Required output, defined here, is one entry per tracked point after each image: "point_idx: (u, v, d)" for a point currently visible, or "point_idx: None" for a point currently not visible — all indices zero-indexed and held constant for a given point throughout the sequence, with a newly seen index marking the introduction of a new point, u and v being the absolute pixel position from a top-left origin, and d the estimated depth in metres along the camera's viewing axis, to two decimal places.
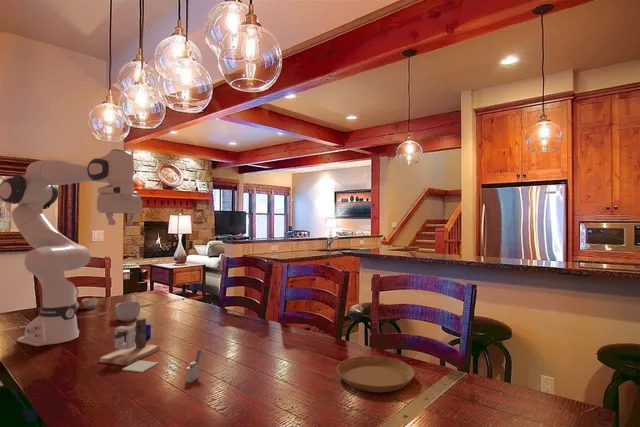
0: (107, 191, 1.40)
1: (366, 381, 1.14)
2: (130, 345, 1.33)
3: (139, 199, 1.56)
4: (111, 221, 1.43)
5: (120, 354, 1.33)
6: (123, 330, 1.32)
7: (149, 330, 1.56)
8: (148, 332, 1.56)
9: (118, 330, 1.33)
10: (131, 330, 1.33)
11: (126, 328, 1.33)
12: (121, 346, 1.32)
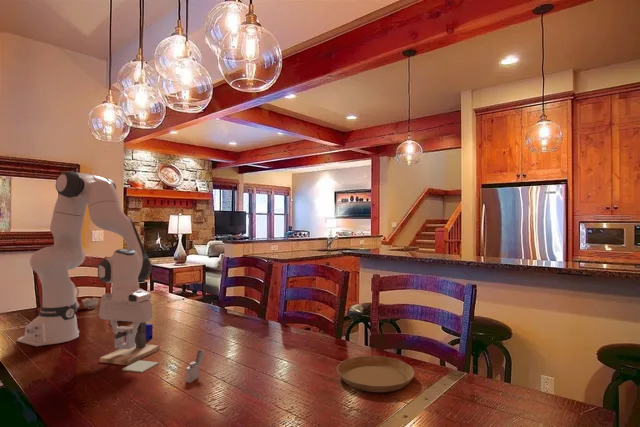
0: (148, 298, 1.34)
1: (366, 381, 1.14)
2: (130, 345, 1.33)
3: None
4: (136, 329, 1.33)
5: (120, 354, 1.33)
6: (123, 330, 1.32)
7: (151, 330, 1.56)
8: (150, 332, 1.55)
9: (118, 330, 1.33)
10: None
11: (126, 328, 1.33)
12: (121, 346, 1.32)
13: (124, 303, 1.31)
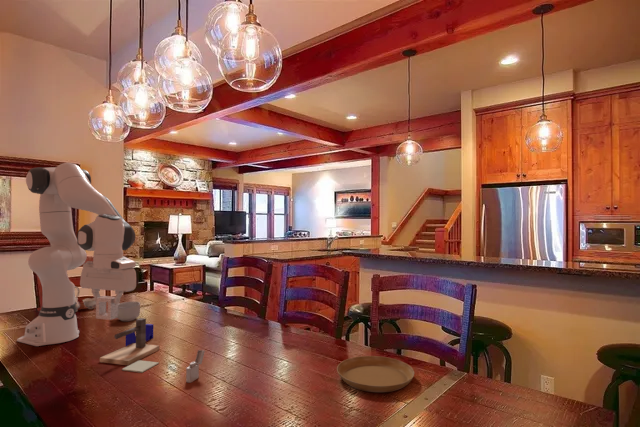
0: (132, 266, 1.26)
1: (366, 381, 1.14)
2: (112, 315, 1.25)
3: None
4: (119, 299, 1.26)
5: (120, 354, 1.33)
6: (105, 299, 1.25)
7: (151, 330, 1.56)
8: (150, 332, 1.55)
9: (100, 299, 1.25)
10: None
11: (108, 298, 1.26)
12: (103, 316, 1.25)
13: (106, 271, 1.24)
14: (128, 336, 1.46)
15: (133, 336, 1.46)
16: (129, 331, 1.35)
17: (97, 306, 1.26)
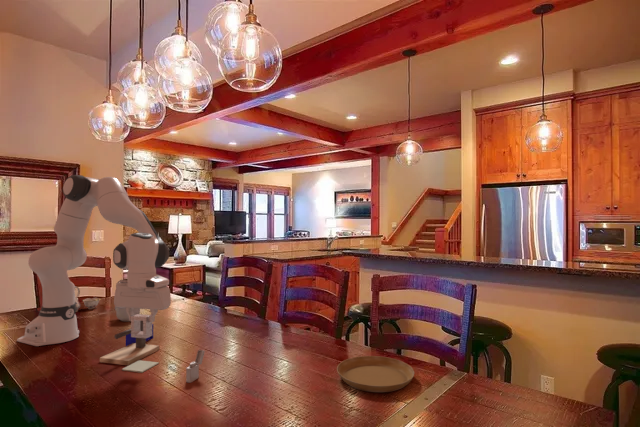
0: (166, 284, 1.26)
1: (366, 381, 1.14)
2: (148, 333, 1.25)
3: None
4: (153, 317, 1.26)
5: (120, 354, 1.33)
6: (140, 318, 1.25)
7: None
8: None
9: (134, 318, 1.25)
10: None
11: (143, 316, 1.26)
12: (138, 335, 1.25)
13: (141, 289, 1.24)
14: (128, 336, 1.46)
15: None
16: (129, 331, 1.35)
17: (132, 325, 1.26)
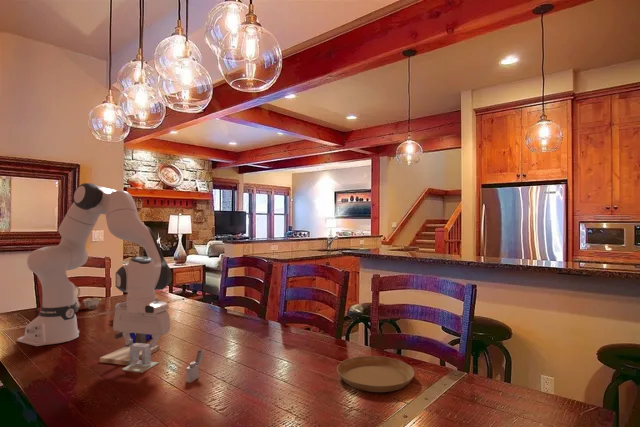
0: (166, 309, 1.26)
1: (366, 381, 1.14)
2: (146, 363, 1.25)
3: None
4: (155, 342, 1.25)
5: (120, 354, 1.33)
6: (139, 348, 1.25)
7: None
8: None
9: (133, 347, 1.25)
10: (148, 347, 1.26)
11: (142, 345, 1.25)
12: (137, 365, 1.25)
13: (140, 314, 1.24)
14: None
15: (133, 336, 1.46)
16: None
17: (131, 354, 1.25)
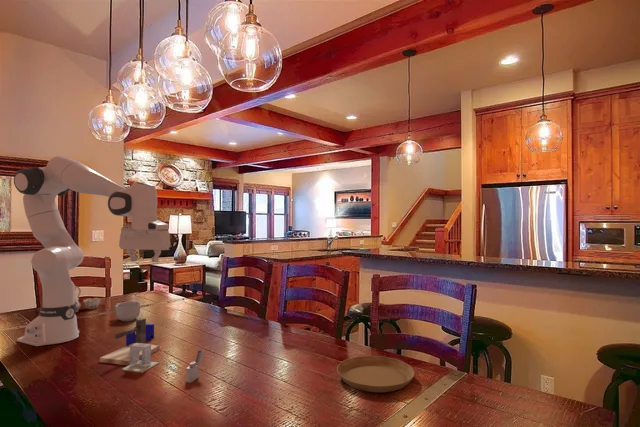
0: (166, 228, 1.40)
1: (366, 381, 1.14)
2: (146, 363, 1.25)
3: None
4: (157, 258, 1.40)
5: (120, 354, 1.33)
6: (139, 348, 1.25)
7: (152, 330, 1.56)
8: (151, 332, 1.56)
9: (133, 347, 1.25)
10: (148, 347, 1.26)
11: (142, 345, 1.25)
12: (137, 365, 1.25)
13: (143, 232, 1.38)
14: (128, 336, 1.46)
15: (133, 336, 1.46)
16: (129, 331, 1.35)
17: (131, 354, 1.25)
